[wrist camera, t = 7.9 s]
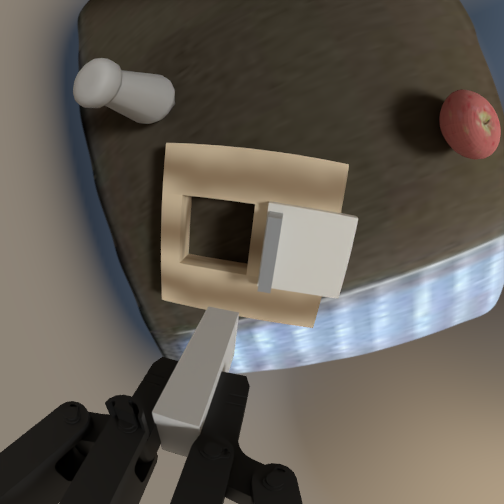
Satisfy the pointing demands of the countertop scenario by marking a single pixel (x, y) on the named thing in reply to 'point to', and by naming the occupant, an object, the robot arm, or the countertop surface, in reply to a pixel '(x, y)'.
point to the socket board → (259, 193)
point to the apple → (469, 124)
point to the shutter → (305, 250)
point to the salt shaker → (124, 91)
